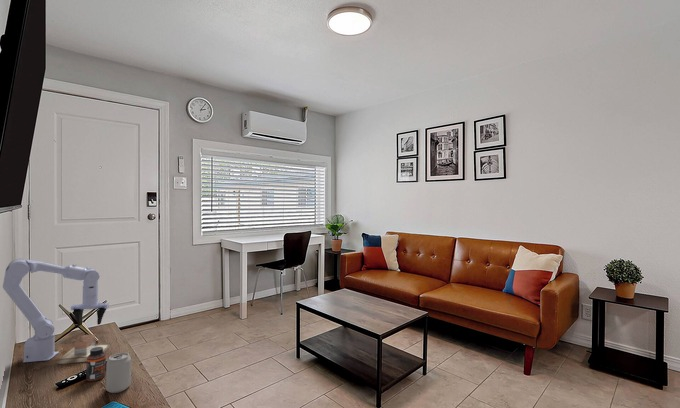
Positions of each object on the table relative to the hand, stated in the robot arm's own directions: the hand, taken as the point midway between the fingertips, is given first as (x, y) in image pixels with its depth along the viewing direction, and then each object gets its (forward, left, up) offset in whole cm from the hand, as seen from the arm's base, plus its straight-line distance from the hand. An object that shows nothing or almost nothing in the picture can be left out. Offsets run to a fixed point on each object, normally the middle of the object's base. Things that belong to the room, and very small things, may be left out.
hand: (89, 324), depth 157 cm
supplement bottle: (+15, -32, -11) cm, 37 cm away
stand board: (+2, -9, -10) cm, 14 cm away
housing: (+2, -9, -9) cm, 13 cm away
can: (+26, -42, -11) cm, 51 cm away
